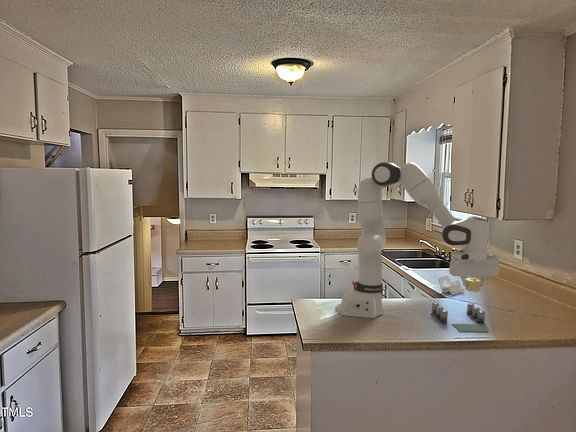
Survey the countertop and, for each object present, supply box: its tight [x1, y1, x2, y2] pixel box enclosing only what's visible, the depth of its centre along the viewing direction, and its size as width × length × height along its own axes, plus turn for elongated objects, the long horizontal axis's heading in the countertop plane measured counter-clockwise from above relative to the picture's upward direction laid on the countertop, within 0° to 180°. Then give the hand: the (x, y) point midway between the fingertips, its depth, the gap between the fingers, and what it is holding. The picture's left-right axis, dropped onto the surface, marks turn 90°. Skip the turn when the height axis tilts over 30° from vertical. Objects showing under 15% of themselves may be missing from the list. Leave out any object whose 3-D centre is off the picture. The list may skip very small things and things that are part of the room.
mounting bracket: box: [437, 275, 466, 296], centre depth 223 cm, size 12×6×11 cm, turn 123°
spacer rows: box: [431, 302, 486, 325], centre depth 183 cm, size 20×13×5 cm, turn 91°
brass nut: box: [464, 277, 481, 293], centre depth 169 cm, size 5×6×5 cm
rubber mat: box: [451, 323, 489, 333], centre depth 171 cm, size 12×8×1 cm, turn 91°
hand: (472, 286), depth 169 cm, fingers closed on brass nut, 5 cm apart
